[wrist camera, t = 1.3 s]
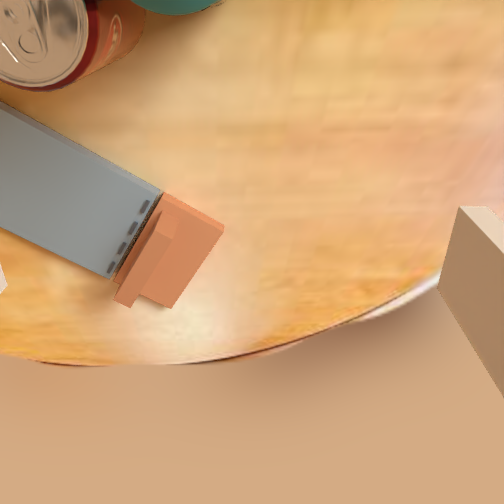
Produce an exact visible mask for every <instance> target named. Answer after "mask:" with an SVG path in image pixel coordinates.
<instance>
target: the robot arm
mask: <svg viewBox="0 0 504 504" xmlns="http://www.w3.org/2000/svg"><path fill="white" fill-rule="evenodd" d="M6 286H7V282H6V279H5V276H4V273H3V270H2V267H1V264H0V294H1V292H2V291H3V290H4V289H5V288H6ZM437 289H438V291H439V292H440V294H441V296H442V297H443V299H444V301H445V302H446V304H447V305H448V307H449V309H450V310H451V312H452V314H453V315H454V317H455V319H456V320H457V322H458V323H459V325H460V327H461V328H462V330H463V332H464V333H465V335H466V337H467V338H468V340H469V341H470V343H471V345H472V346H473V348H474V350H475V351H476V353H477V355H478V356H479V358H480V359H481V361H482V363H483V364H484V366H485V368H486V369H487V371H488V373H489V374H490V376H491V378H492V379H493V381H494V382H495V384H496V386H497V387H498V389H499V391H500V392H501V394H502V395H503V397H504V222H503V221H502V220H501V219H500V218H499V217H498V216H497V215H496V214H495V213H494V212H493V211H491V210H490V209H489V208H488V207H487V206H459V208H458V211H457V215H456V219H455V223H454V226H453V230H452V234H451V238H450V241H449V245H448V249H447V253H446V256H445V260H444V264H443V268H442V271H441V275H440V279H439V283H438V286H437Z"/></svg>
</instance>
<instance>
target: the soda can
mask: <svg viewBox="0 0 504 504" xmlns="http://www.w3.org/2000/svg"><path fill="white" fill-rule="evenodd" d="M144 23H145V8H143V7H141V6H139V5H137V4H135V3H134V2H132V1H131V0H0V80H1V81H3V82H4V83H6V84H9V85H12V86H14V87H17V88H20V89H23V90H29V91H34V92H49V91H53V90H57V89H62V88H64V87H66V86H68V85H70V84H72V83H74V82H75V81H77V80H79V79H81V78H83V77H85V76H87V75H89V74H91V73H93V72H95V71H97V70H99V69H101V68H103V67H105V66H106V65H108V64H110V63H112V62H114V61H116V60H118V59H120V58H122V57H124V56H125V55H126V54H128V53H129V52H130V51H131V50H132V49H133V48H134V46H135V45H136V44H137V43H138V41H139V38H140V36H141V34H142V31H143V27H144Z"/></svg>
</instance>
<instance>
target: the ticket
mask: <svg viewBox="0 0 504 504" xmlns="http://www.w3.org/2000/svg"><path fill="white" fill-rule="evenodd" d="M159 191H160V190H159V189H158V188H156V187H154V186H152V185H150V184H149V183H147V182H145V181H143V180H141V179H140V178H138V177H136V176H134V175H132V174H131V173H129V172H127V171H125V170H124V169H122V168H120V167H118V166H116V165H115V164H113V163H111V162H109V161H107V160H106V159H104V158H102V157H100V156H98V155H97V154H95V153H93V152H91V151H89V150H88V149H86V148H84V147H82V146H80V145H79V144H77V143H75V142H73V141H71V140H70V139H68V138H66V137H64V136H62V135H61V134H59V133H57V132H55V131H53V130H52V129H50V128H48V127H46V126H44V125H43V124H41V123H39V122H37V121H35V120H34V119H32V118H30V117H28V116H26V115H25V114H23V113H21V112H19V111H18V110H16V109H14V108H12V107H10V106H9V105H7V104H5V103H3V102H1V101H0V227H1V228H3V229H6V230H8V231H10V232H12V233H14V234H16V235H18V236H20V237H22V238H24V239H26V240H28V241H31V242H33V243H35V244H37V245H39V246H41V247H43V248H45V249H47V250H49V251H51V252H53V253H55V254H58V255H60V256H62V257H64V258H66V259H68V260H70V261H72V262H74V263H76V264H78V265H80V266H83V267H85V268H87V269H89V270H91V271H93V272H95V273H97V274H99V275H101V276H103V277H105V278H108V279H110V278H111V276H112V274H113V272H114V271H115V269H116V267H117V265H118V264H119V262H120V260H121V258H122V256H123V255H124V253H125V251H126V249H127V248H128V246H129V244H130V242H131V241H132V239H133V237H134V235H135V234H136V232H137V230H138V228H139V227H140V225H141V223H142V221H143V220H144V218H145V216H146V214H147V213H148V211H149V209H150V207H151V206H152V204H153V202H154V200H155V198H156V197H157V195H158V193H159Z"/></svg>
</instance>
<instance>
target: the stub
mask: <svg viewBox="0 0 504 504" xmlns="http://www.w3.org/2000/svg"><path fill="white" fill-rule="evenodd" d="M223 232H224V225H222V224H221V223H219V222H217V221H215V220H213V219H212V218H210V217H208V216H206V215H204V214H203V213H201V212H199V211H197V210H195V209H194V208H192V207H190V206H188V205H186V204H185V203H183V202H181V201H179V200H177V199H176V198H174V197H172V196H170V195H168V194H167V193H165V192H164V193H163V195H162V197H161V198H160V200H159V202H158V204H157V205H156V207H155V209H154V211H153V212H152V214H151V216H150V218H149V219H148V221H147V223H146V224H145V226H144V228H143V230H142V231H141V233H140V235H139V237H138V238H137V240H136V242H135V244H134V245H133V247H132V249H131V251H130V252H129V254H128V256H127V258H126V259H125V261H124V263H123V264H122V266H121V268H120V270H119V271H118V273H117V275H116V277H115V279H114V282H116V283H118V284H120V286H119V288H118V291H117V293H116V295H115V297H114V299H113V300H114V301H116V302H118V303H121V304H123V305H125V306H127V307H129V308H131V306H132V305H133V303H134V301H135V300H136V298H137V297H138V295H139V294H141V295H143V296H145V297H147V298H149V299H151V300H153V301H155V302H157V303H160V304H162V305H164V306H166V307H168V308H170V309H171V308H172V307H173V305H174V304H175V302H176V301H177V299H178V298H179V296H180V295H181V294H182V292H183V291H184V289H185V288H186V286H187V285H188V283H189V282H190V280H191V279H192V277H193V276H194V274H195V273H196V272H197V270H198V269H199V267H200V266H201V264H202V263H203V261H204V260H205V258H206V257H207V255H208V254H209V252H210V251H211V250H212V248H213V247H214V245H215V244H216V242H217V241H218V239H219V238H220V236H221V235H222V233H223Z"/></svg>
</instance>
